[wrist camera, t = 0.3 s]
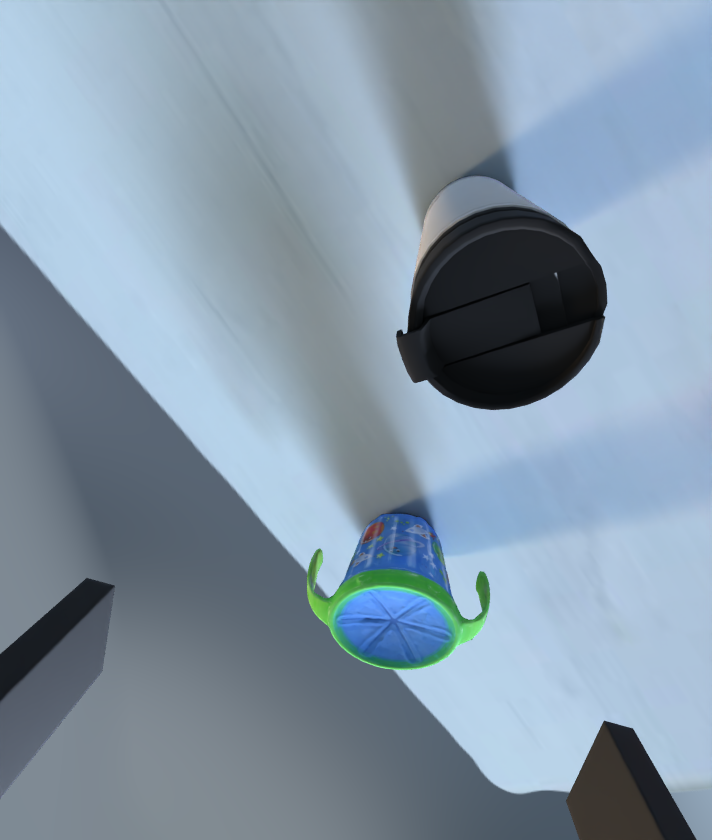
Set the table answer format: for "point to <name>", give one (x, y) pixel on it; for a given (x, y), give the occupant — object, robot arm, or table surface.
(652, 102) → the table surface
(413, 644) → the snack cup
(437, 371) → the travel mug
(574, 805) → the robot arm
